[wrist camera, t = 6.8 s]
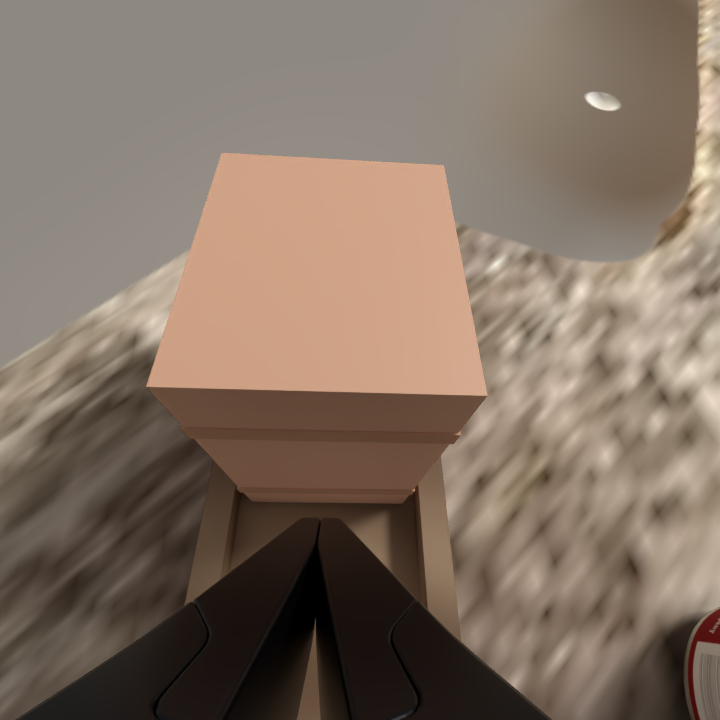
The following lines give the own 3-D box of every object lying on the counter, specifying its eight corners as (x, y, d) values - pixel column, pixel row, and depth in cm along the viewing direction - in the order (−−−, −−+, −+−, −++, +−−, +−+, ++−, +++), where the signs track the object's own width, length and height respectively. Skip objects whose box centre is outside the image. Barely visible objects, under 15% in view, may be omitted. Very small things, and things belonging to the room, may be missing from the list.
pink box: (403, 505, 15) (490, 398, 7) (250, 503, 15) (142, 389, 7) (395, 355, 19) (445, 164, 11) (272, 351, 19) (220, 151, 10)
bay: (458, 762, 12) (714, 1113, 4) (170, 769, 12) (-203, 1176, 4) (416, 318, 21) (468, 148, 13) (253, 312, 21) (202, 132, 13)
